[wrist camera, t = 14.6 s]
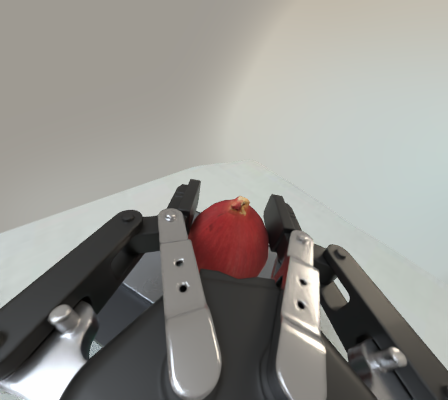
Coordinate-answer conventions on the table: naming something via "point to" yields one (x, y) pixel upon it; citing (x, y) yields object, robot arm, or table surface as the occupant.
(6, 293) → the table surface
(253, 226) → the onion
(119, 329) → the scale
